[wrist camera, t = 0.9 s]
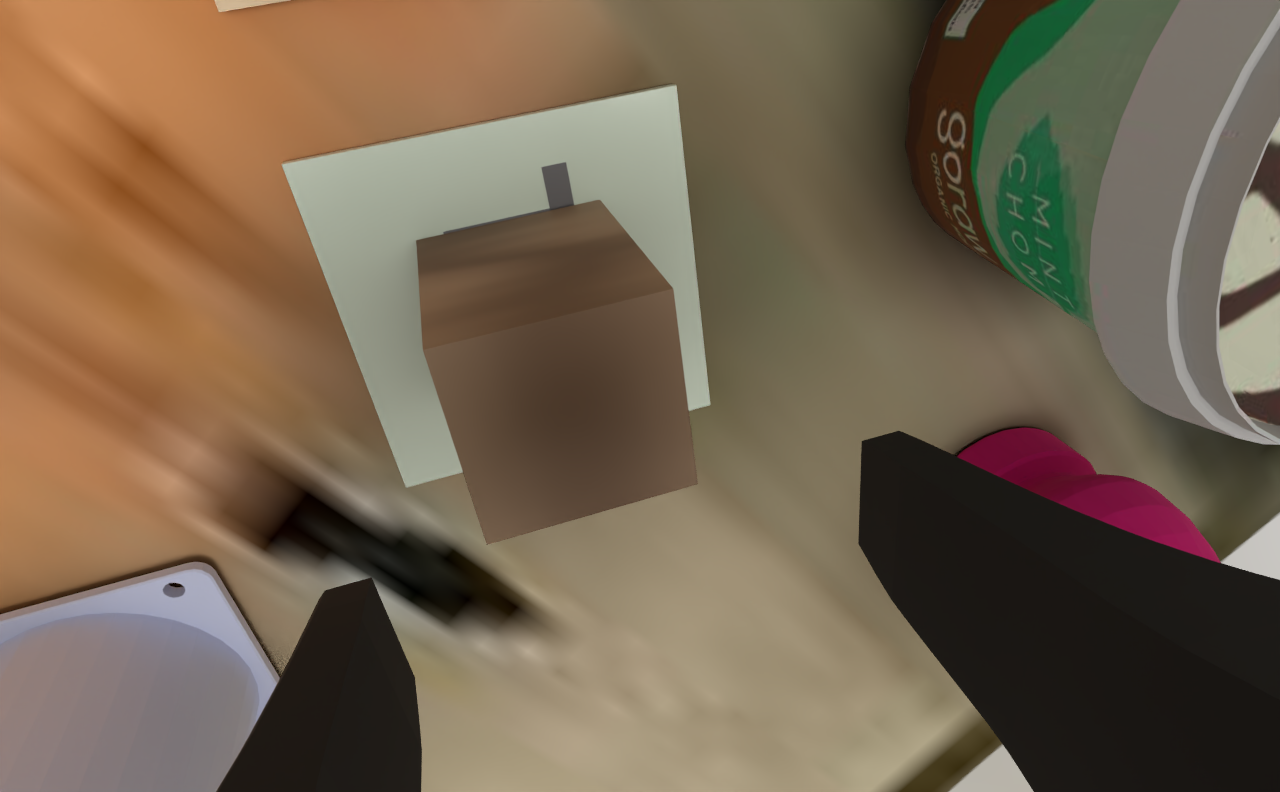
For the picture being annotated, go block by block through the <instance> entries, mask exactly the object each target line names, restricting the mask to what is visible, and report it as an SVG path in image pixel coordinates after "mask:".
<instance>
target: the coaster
mask: <svg viewBox="0 0 1280 792" xmlns="http://www.w3.org/2000/svg"><path fill="white" fill-rule="evenodd" d="M214 1H215V3H216V6H217V8H218V11H219V12H223V11H229V10H235V9H241V8H247V7H253V6H259V5H265V4H271V3H277V2H283V1H289V0H214Z"/></svg>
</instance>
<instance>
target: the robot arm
mask: <svg viewBox="0 0 1280 792" xmlns="http://www.w3.org/2000/svg"><path fill="white" fill-rule="evenodd" d="M859 545H860V547H861V549H862V550H863V552H864V554H865V556H866V558H867V559H868V561H869V563H870V565H871V566H872V568H873V570H874V572H875V573H876V575H877V577H878V578H879V580H880V582H881V583H882V585H883V587H884V588H885V590H886V591H887V593H888V595H889V596H890V598H891V600H892V601H893V602H894V604H895V605H896V606H897V608H898V609H899V610H900V612H901V613H902V614H903V616H904V617H905V618H906V620H907V621H908V622H909V623H910V625H911V626H912V627H913V629H914V630H915V631H916V632H917V634H918V635H919V636H920V638H921V639H922V640H923V642H924V643H925V644H926V645H927V647H928V648H929V649H930V651H931V652H932V653H933V654H934V656H935V657H936V658H937V659H938V661H939V662H940V663H941V665H942V666H943V667H944V668H945V670H946V671H947V672H948V673H949V675H950V676H951V677H952V679H953V680H954V681H955V682H956V684H957V685H958V686H959V687H960V689H961V690H962V691H963V693H964V694H965V695H966V696H967V698H968V699H969V700H970V701H971V703H972V704H973V705H974V707H975V708H976V709H977V710H978V712H979V713H980V714H981V716H982V717H983V718H984V719H985V721H986V722H987V723H988V724H989V726H990V727H991V729H992V730H993V731H994V733H995V734H996V736H997V737H998V738H999V740H1000V741H1001V742H1002V744H1003V745H1004V747H1005V748H1006V749H1007V751H1008V752H1009V754H1010V755H1011V757H1012V758H1013V760H1014V761H1015V763H1016V764H1017V766H1018V767H1019V769H1020V771H1021V772H1022V774H1023V775H1024V777H1025V779H1026V780H1027V782H1028V783H1029V785H1030V786H1031V788H1032V789H1033V791H1034V792H1280V580H1278V579H1274V578H1270V577H1267V576H1263V575H1259V574H1255V573H1252V572H1249V571H1245V570H1242V569H1239V568H1235V567H1232V566H1228V565H1225V564H1222V563H1219V562H1215V561H1212V560H1209V559H1206V558H1203V557H1200V556H1197V555H1194V554H1191V553H1188V552H1185V551H1182V550H1179V549H1176V548H1173V547H1170V546H1167V545H1164V544H1161V543H1158V542H1155V541H1153V540H1150V539H1147V538H1144V537H1142V536H1139V535H1136V534H1133V533H1131V532H1128V531H1125V530H1123V529H1120V528H1118V527H1115V526H1113V525H1110V524H1108V523H1105V522H1103V521H1100V520H1098V519H1095V518H1093V517H1090V516H1088V515H1085V514H1083V513H1080V512H1078V511H1075V510H1073V509H1071V508H1068V507H1066V506H1064V505H1061V504H1059V503H1057V502H1054V501H1052V500H1050V499H1047V498H1045V497H1043V496H1041V495H1038V494H1036V493H1034V492H1031V491H1029V490H1027V489H1025V488H1023V487H1020V486H1018V485H1016V484H1014V483H1012V482H1009V481H1007V480H1005V479H1003V478H1001V477H999V476H997V475H994V474H992V473H990V472H988V471H986V470H984V469H982V468H979V467H977V466H975V465H973V464H971V463H969V462H967V461H965V460H963V459H960V458H958V457H956V456H954V455H952V454H950V453H948V452H946V451H943V450H941V449H939V448H937V447H935V446H933V445H931V444H928V443H926V442H924V441H922V440H920V439H917V438H915V437H913V436H910V435H908V434H906V433H903V432H901V431H896V432H893V433H889V434H886V435H882V436H878V437H875V438H871V439H868V440H864V441H862V453H861V483H860V514H859ZM169 583H179V584H181V585H183V587H177V588H176V587H173V586H170V585H169ZM421 763H422V747H421V736H420V724H419V714H418V704H417V694H416V685H415V677H414V675H413V672H412V670H411V668H410V665H409V663H408V661H407V658H406V656H405V654H404V652H403V649H402V647H401V645H400V642H399V640H398V638H397V635H396V633H395V631H394V628H393V626H392V624H391V622H390V619H389V617H388V615H387V612H386V610H385V608H384V605H383V603H382V601H381V598H380V596H379V594H378V591H377V589H376V587H375V585H374V582H373V580H372V578H368V579H365V580H361V581H357V582H354V583H350V584H347V585H343V586H339V587H336V588H332V589H329V590H325V591H324V593H323V594H322V596H321V597H320V599H319V601H318V603H317V605H316V607H315V609H314V611H313V613H312V615H311V617H310V619H309V621H308V623H307V625H306V627H305V629H304V631H303V633H302V635H301V638H300V640H299V642H298V644H297V646H296V648H295V650H294V652H293V654H292V656H291V658H290V660H289V662H288V663H287V665H286V667H285V669H284V671H283V673H282V675H281V677H279V676H278V674H277V672H276V671H275V669H274V667H273V666H272V664H271V662H270V661H269V659H268V657H267V656H266V654H265V652H264V651H263V649H262V647H261V646H260V644H259V642H258V641H257V639H256V637H255V636H254V634H253V632H252V631H251V629H250V627H249V626H248V624H247V622H246V621H245V619H244V617H243V616H242V614H241V612H240V611H239V609H238V607H237V606H236V604H235V602H234V601H233V599H232V597H231V596H230V594H229V592H228V591H227V589H226V587H225V586H224V584H223V582H222V581H221V579H220V577H219V576H218V574H217V572H216V571H215V570H214V569H213V568H212V566H210V565H208V564H206V563H202V562H190V563H185V564H182V565H178V566H174V567H171V568H167V569H164V570H160V571H156V572H153V573H149V574H145V575H142V576H138V577H134V578H131V579H127V580H124V581H120V582H116V583H113V584H109V585H105V586H102V587H98V588H94V589H91V590H87V591H83V592H80V593H76V594H73V595H69V596H65V597H62V598H58V599H54V600H51V601H47V602H43V603H40V604H36V605H32V606H29V607H25V608H22V609H18V610H14V611H11V612H7V613H3V614H0V792H421Z"/></svg>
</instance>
